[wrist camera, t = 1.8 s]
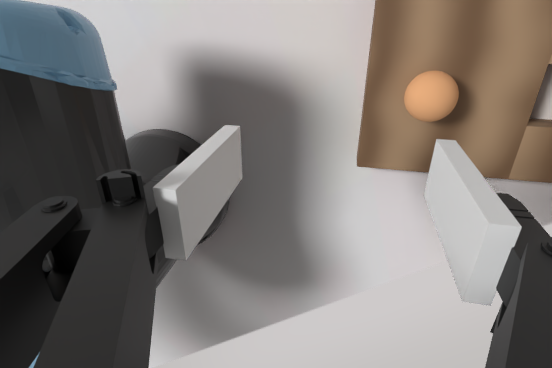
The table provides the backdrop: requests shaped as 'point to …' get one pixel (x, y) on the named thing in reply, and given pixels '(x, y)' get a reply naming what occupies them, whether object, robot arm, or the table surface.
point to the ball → (431, 96)
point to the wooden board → (460, 84)
